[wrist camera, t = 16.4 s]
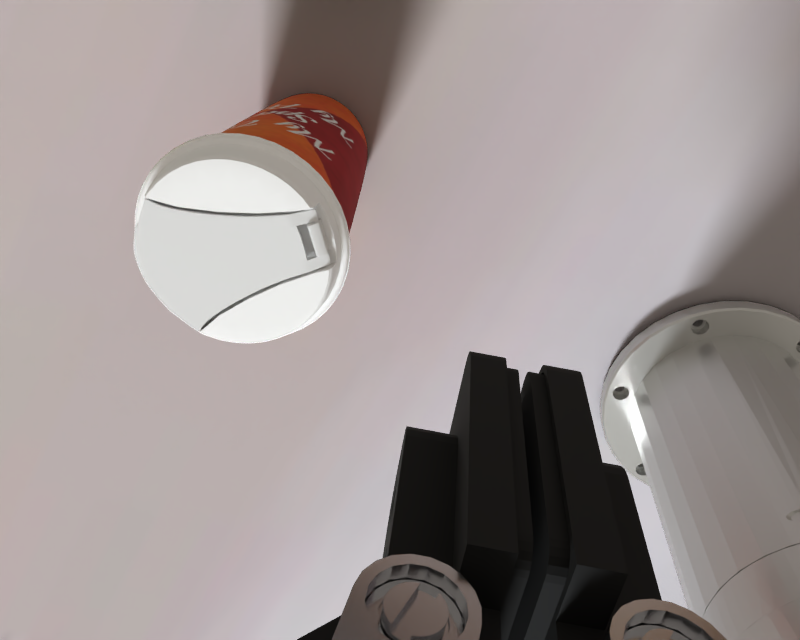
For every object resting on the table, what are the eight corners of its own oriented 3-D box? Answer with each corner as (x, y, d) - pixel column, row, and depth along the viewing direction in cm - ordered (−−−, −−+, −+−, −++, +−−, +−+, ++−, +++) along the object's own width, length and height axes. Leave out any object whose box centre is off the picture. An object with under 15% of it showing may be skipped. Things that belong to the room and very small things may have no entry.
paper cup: (367, 53, 35) (306, 119, 22) (404, 206, 38) (369, 337, 26) (214, 89, 36) (77, 171, 24) (262, 234, 40) (165, 371, 27)
